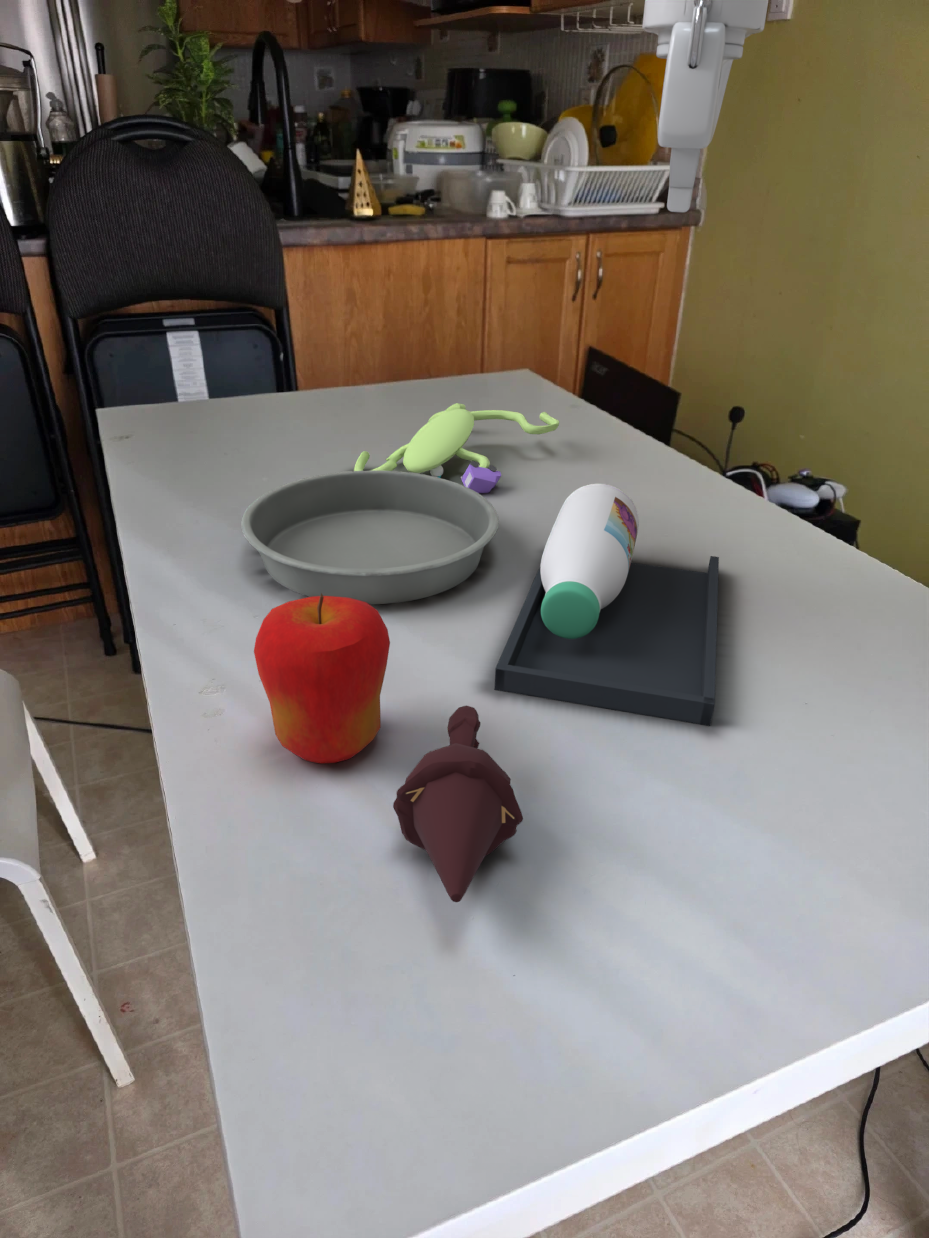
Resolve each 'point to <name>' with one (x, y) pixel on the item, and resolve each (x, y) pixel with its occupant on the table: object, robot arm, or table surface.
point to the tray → (626, 648)
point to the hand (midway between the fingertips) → (678, 211)
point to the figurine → (454, 445)
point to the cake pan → (370, 534)
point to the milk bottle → (587, 558)
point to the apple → (323, 675)
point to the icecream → (458, 805)
